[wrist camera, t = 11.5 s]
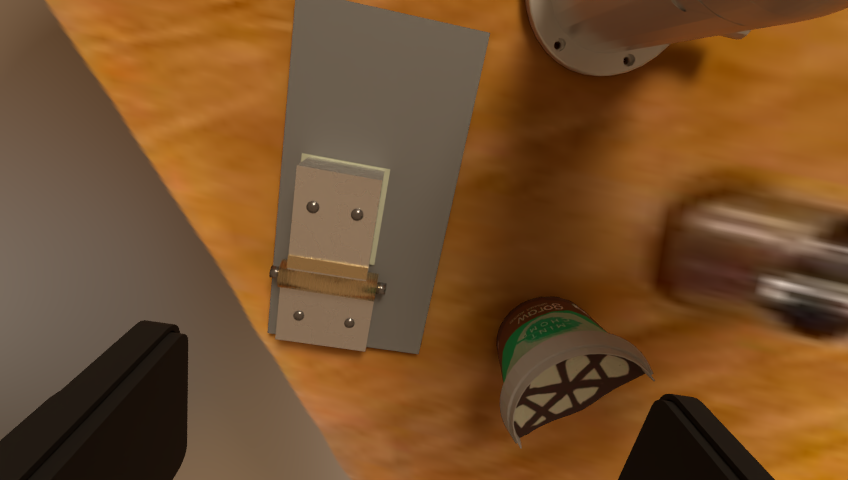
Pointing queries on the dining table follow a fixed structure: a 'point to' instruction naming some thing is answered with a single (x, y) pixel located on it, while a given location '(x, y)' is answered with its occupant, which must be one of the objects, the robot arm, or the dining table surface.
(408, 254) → the board
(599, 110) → the dining table surface
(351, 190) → the tan studded block
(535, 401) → the food container
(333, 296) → the fixed leaf
